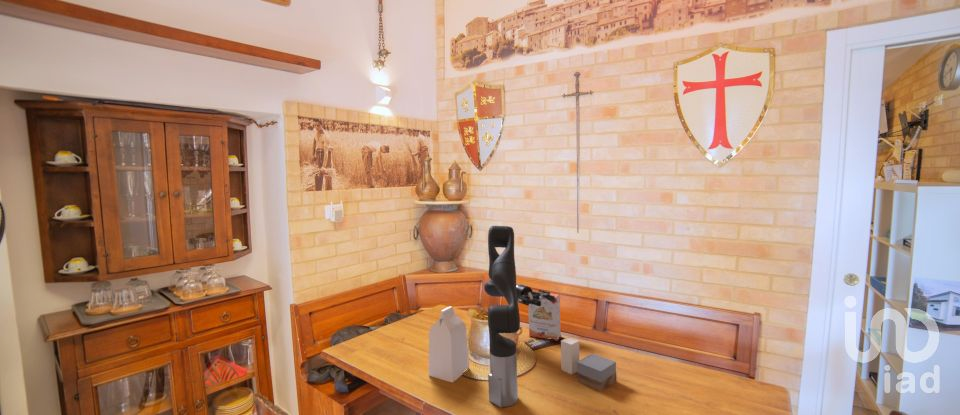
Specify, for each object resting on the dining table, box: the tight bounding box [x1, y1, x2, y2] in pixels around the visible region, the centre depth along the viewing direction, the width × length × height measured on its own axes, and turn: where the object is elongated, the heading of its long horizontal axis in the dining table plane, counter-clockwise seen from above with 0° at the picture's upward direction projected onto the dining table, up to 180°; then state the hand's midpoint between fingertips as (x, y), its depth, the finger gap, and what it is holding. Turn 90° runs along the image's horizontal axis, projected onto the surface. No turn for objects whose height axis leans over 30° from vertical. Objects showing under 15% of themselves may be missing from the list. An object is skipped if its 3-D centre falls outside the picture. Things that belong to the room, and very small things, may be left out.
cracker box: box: [528, 293, 561, 342], centre depth 186 cm, size 14×6×21 cm, turn 62°
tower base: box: [577, 372, 617, 393], centre depth 145 cm, size 10×10×4 cm
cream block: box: [560, 336, 580, 375], centre depth 154 cm, size 5×5×12 cm
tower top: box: [576, 353, 617, 382], centre depth 145 cm, size 10×10×4 cm
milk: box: [428, 305, 470, 384], centre depth 155 cm, size 12×12×26 cm
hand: (547, 301), depth 161 cm, fingers open, 8 cm apart
